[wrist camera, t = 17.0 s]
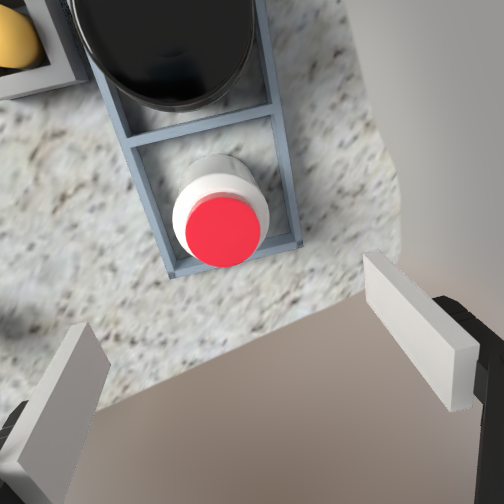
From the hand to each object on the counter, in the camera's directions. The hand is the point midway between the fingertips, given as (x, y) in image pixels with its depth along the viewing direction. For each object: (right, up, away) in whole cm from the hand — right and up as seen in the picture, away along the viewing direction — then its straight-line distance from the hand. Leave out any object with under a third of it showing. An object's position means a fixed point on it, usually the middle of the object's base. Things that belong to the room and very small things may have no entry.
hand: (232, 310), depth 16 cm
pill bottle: (-3, +9, +19) cm, 21 cm away
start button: (-17, +19, +10) cm, 27 cm away
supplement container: (-5, +21, +13) cm, 25 cm away
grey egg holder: (-17, +19, +11) cm, 28 cm away
